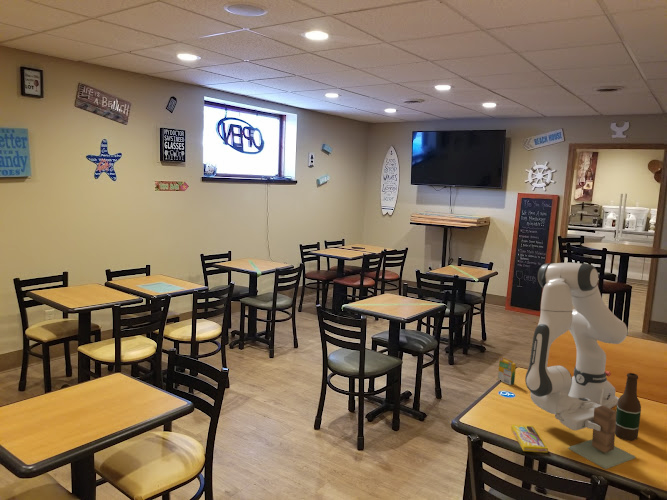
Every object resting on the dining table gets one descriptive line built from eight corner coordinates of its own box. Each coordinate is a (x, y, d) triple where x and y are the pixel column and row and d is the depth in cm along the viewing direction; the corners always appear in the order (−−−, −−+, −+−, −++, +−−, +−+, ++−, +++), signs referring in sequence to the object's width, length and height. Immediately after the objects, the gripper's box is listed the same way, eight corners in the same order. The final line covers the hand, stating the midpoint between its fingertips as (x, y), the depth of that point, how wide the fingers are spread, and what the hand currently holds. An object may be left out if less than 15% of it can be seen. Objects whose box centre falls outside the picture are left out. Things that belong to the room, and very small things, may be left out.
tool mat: (597, 439, 185) (597, 437, 185) (635, 458, 173) (635, 456, 173) (568, 448, 178) (568, 447, 178) (605, 469, 165) (605, 467, 165)
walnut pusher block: (600, 442, 178) (602, 405, 176) (613, 449, 174) (616, 411, 172) (592, 446, 176) (594, 408, 174) (605, 452, 172) (607, 414, 170)
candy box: (548, 447, 174) (523, 446, 174) (548, 453, 174) (523, 452, 174) (533, 424, 190) (510, 424, 190) (533, 430, 190) (510, 429, 190)
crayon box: (514, 384, 234) (516, 359, 232) (510, 385, 232) (512, 361, 231) (501, 378, 240) (503, 355, 238) (497, 379, 238) (499, 356, 237)
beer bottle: (609, 431, 192) (615, 370, 188) (628, 430, 192) (635, 370, 189) (622, 441, 184) (629, 378, 181) (642, 441, 185) (650, 378, 181)
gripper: (552, 407, 180) (587, 424, 168) (589, 397, 189) (625, 412, 177) (550, 423, 181) (585, 442, 169) (588, 413, 190) (623, 429, 178)
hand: (606, 426), depth 173 cm, fingers closed on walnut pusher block, 4 cm apart
